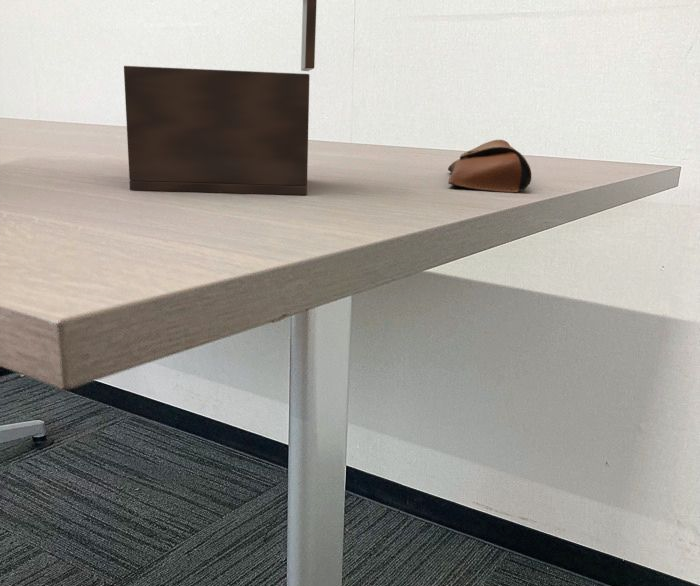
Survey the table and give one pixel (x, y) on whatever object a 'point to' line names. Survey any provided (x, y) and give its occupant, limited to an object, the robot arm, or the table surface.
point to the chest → (217, 130)
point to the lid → (308, 35)
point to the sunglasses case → (491, 169)
